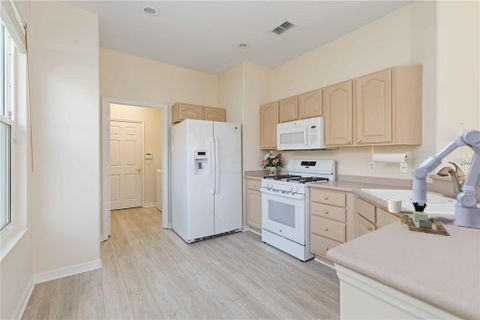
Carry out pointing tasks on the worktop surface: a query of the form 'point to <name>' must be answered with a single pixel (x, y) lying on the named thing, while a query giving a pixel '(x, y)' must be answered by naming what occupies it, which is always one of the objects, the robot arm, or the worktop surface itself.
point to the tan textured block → (402, 218)
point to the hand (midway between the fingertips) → (419, 217)
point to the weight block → (425, 224)
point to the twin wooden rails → (426, 230)
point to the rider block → (419, 216)
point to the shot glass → (394, 205)
